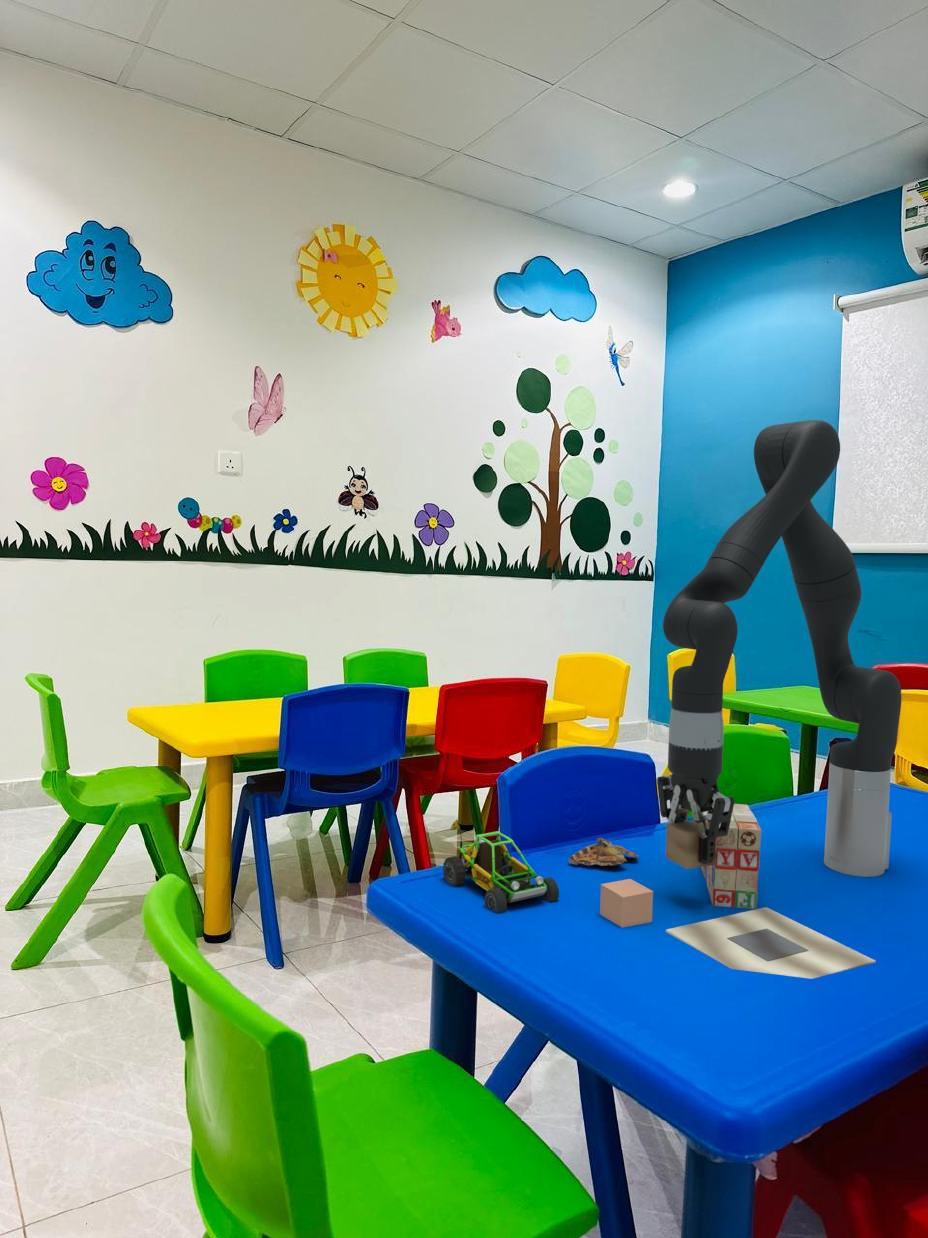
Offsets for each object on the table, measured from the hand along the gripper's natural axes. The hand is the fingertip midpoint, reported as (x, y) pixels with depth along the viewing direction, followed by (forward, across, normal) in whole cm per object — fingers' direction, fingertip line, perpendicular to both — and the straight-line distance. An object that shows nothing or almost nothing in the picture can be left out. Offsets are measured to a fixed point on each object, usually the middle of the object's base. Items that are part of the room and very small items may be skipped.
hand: (691, 855), depth 129 cm
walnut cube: (+1, 0, 0) cm, 1 cm away
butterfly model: (+9, +17, +2) cm, 19 cm away
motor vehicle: (+8, +16, +23) cm, 29 cm away
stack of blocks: (+8, +4, -11) cm, 14 cm away
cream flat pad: (+7, -16, +1) cm, 18 cm away
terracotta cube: (+7, -1, +12) cm, 14 cm away
